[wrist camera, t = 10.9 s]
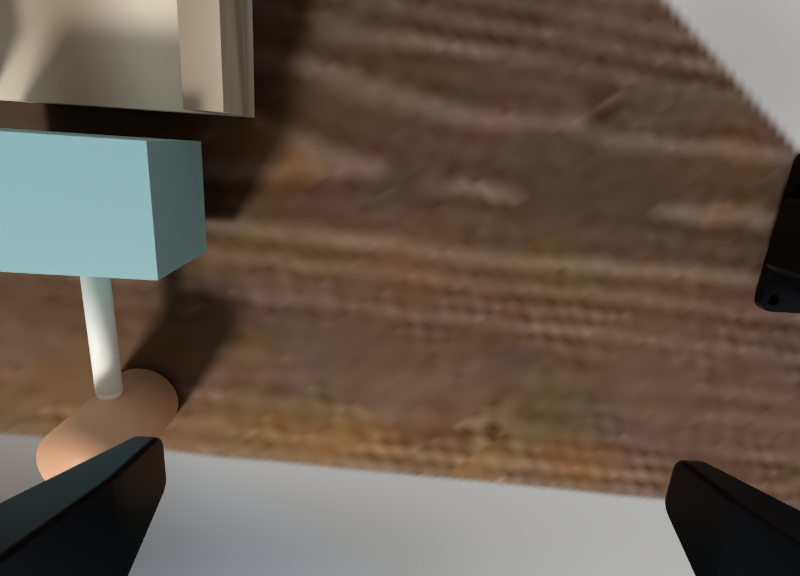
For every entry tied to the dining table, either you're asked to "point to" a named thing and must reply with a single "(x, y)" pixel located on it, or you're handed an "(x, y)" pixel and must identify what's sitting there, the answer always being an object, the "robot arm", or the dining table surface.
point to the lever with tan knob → (101, 258)
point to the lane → (130, 54)
